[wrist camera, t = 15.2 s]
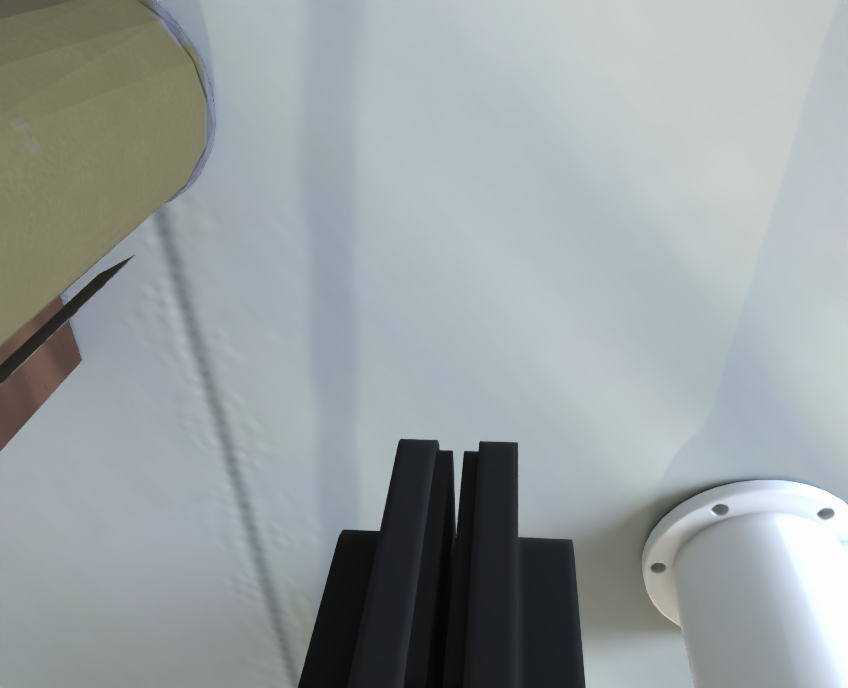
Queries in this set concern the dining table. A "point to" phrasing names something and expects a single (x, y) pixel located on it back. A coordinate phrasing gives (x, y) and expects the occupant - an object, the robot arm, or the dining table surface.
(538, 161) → the dining table surface
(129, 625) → the dining table surface
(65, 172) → the canister
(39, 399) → the brown wooden ledge shelf
